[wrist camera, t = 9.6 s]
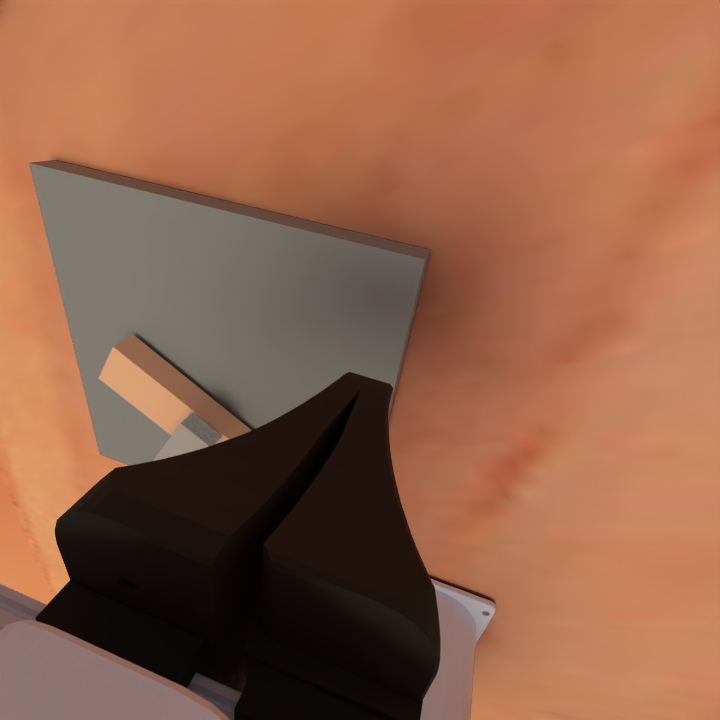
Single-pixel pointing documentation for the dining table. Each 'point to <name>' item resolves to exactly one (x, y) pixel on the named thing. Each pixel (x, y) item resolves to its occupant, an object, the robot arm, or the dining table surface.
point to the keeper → (189, 438)
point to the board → (219, 298)
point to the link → (163, 390)
